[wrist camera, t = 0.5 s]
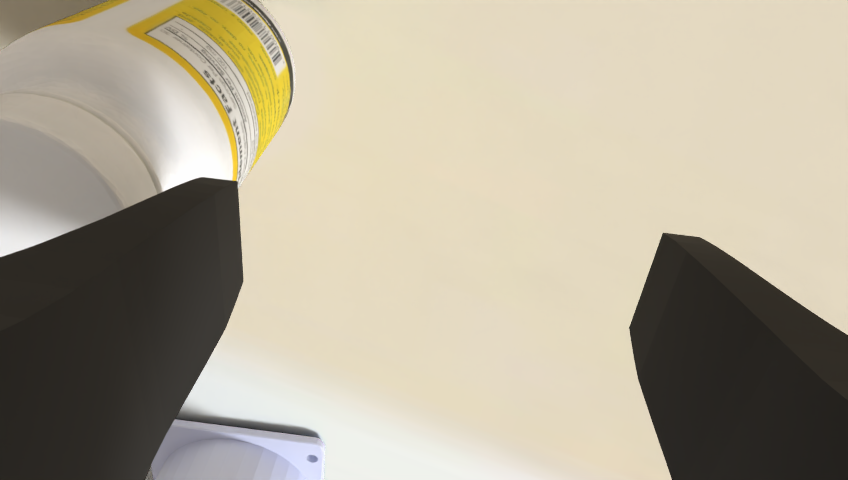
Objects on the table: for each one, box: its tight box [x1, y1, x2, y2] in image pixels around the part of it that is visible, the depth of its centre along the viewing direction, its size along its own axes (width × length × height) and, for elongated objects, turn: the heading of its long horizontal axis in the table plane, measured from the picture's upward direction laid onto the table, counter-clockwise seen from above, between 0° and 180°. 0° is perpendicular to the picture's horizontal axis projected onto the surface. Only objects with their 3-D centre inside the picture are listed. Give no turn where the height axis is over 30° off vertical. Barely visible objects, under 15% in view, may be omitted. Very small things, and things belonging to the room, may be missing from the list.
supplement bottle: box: [0, 0, 295, 257], centre depth 15 cm, size 5×5×10 cm
